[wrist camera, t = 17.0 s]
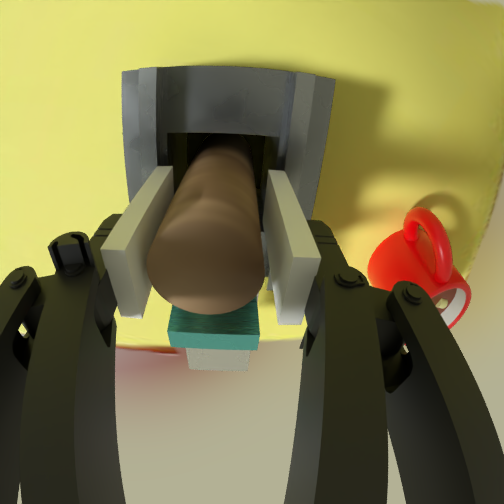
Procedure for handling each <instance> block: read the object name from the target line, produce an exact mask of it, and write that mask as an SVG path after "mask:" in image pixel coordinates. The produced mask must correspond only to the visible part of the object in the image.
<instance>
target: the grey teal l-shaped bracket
mask: <svg viewBox="0 0 504 504" xmlns="http://www.w3.org/2000/svg"><path fill="white" fill-rule="evenodd" d="M258 294H259V293H258ZM258 294H257V295H256V296H255V298H254V299H252V300H251V301H250V302H249V303H248V304H246V305H245V306H243V307H241V308H239V309H237V310H234V311H231V312H227V313H223V314H213V315H209V314H198V313H193V312H189V311H186V310H183V309H181V308H178V307H176V306H174V305H172V310H171V315H170V320H169V325H168V330H167V332H168V336H169V341H170V345H171V347H182V348H186V352H187V358H188V364H189V368H190V369H197V370H218V371H247V370H248V364H249V357H250V350H257V348H258V343H259V337H260V331H259V319H258V307H257V301H258Z"/></svg>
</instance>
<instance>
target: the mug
mask: <svg viewBox="0 0 504 504" xmlns="http://www.w3.org/2000/svg"><path fill="white" fill-rule="evenodd" d="M419 225H421V226H422V227H423V229H424V230H425V231H426V232H425V231H423V230H421V229H418V228H419ZM367 273H368V278H369V280H370V282H371V284H372V286H373V287H376V288H380V289H384V290H388V291H391V290H392V288H393V286H394V285H395V284H396V283H397V282H398V281H403V280H404V281H411V282H414V283H416V284H418V285H419V286H420V287H422V288H423V289H424V290H425V291H426V292H427V294H428V295H429V296H430V298H431V300H432V301H433V303H434V304H435V306H436V308H437V309H438V311H439V313H440V314H441V316H442V318H443V319H444V321H445V323H446V325H447V326H448V328H449V329H450V328H452V327H453V326H454V325H455V324H456V323H457V321H459V320H460V318H461V317H462V315H463V314H464V313H465V311H466V310H467V308H468V306H469V303H470V300H471V289H470V287H469V285H468V284H467V282H466V281H465V280H464V278H463V277H462V276H461V274H460V273H459V272H458V270H457V269H456V268H455V267H454V265H453V258H452V250H451V246H450V242H449V239H448V236H447V233H446V231H445V229H444V227H443V225H442V224H441V222H440V220H439V219H438V218H437V217H436V216H435V215H434V214H433V213H432V212H431V211H430V210H428V209H427V208H424V207H414V208H413V209H411V210H410V211H409V212H408V213H407V215H406V218H405V220H404V226H403V230H400V231H398V232H395V233H394V234H392V235H390V236H389V237H388V238H386V239H385V240H384V241H383V242H382V243H381V244H380V245H379V246H378V247H377V248H376V250H375V251H374V253H373V254H372V256H371V258H370V261H369V264H368V272H367ZM404 345H406V344H404Z"/></svg>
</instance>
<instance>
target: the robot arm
mask: <svg viewBox="0 0 504 504" xmlns="http://www.w3.org/2000/svg"><path fill="white" fill-rule="evenodd" d="M173 197H174V183H173V166H157V167H156V168H155V170H154V171H153V172H152V174H151V175H150V176H149V178H148V179H147V180H146V182H145V183H144V184H143V186H142V187H141V188H140V190H139V191H138V193H137V194H136V195H135V197H134V198H133V200H132V201H131V202H130V204H129V205H128V207H127V208H126V210H125V211H124V213H123V214H112V215H111V216H109V217H108V218H107V219H105V220H104V221H103V222H102V224H101V225H100V226H99V228H98V230H97V231H96V232H95V234H94V236H92V238H91V239H90V241H89V238H88V236H87V235H86V234H85V233H82V232H69V233H65V234H63V235H61V236H59V237H57V238H56V239H54V240H53V241H52V242H51V243H50V245H49V246H48V250H49V252H50V255H51V258H52V261H53V263H54V266H55V268H56V272H55V275H50V276H45V277H40V278H38V277H37V275H36V272H35V270H34V269H33V268H32V267H29V266H23V267H19V268H17V269H15V270H14V271H12V272H11V273H10V274H9V275H8V276H7V277H6V278H5V280H4V281H3V282H2V284H1V285H0V504H17V499H18V491H19V484H20V487H21V498H22V504H126V502H125V497H124V491H123V485H122V478H121V471H120V463H119V454H118V444H117V432H116V416H115V346H116V328H117V326H116V321H115V318H114V316H113V315H114V312H115V310H116V307H117V306H118V309H119V312H120V315H121V317H130V318H140V319H142V318H143V314H144V311H145V307H146V304H147V301H148V297H149V294H150V291H151V287H152V284H151V282H150V280H149V277H148V274H147V268H146V260H147V255H148V252H149V250H150V247H151V245H152V243H153V240H154V238H155V236H156V234H157V231H158V229H159V227H160V225H161V222H162V220H163V218H164V216H165V214H166V212H167V210H168V207H169V205H170V203H171V201H172V199H173ZM263 227H264V234H265V240H266V246H267V253H268V259H269V266H270V272H271V279H272V286H273V292H274V299H275V306H276V313H277V320H278V325H301V323H302V320H303V317H304V314H305V316H306V321H307V325H308V326H307V328H306V331H305V334H304V337H303V339H302V342H301V345H300V349H303V361H302V372H301V382H300V393H299V403H298V411H297V421H296V428H295V437H294V444H293V452H292V458H291V465H290V471H289V478H288V484H287V490H286V495H285V501H284V504H387V488H388V433H387V432H388V431H389V435H390V438H391V442H392V446H393V449H394V453H395V457H396V461H397V465H398V469H399V473H400V477H401V482H402V486H403V491H404V495H405V500H406V504H504V454H503V451H502V447H501V444H500V441H499V438H498V435H497V432H496V429H495V427H494V424H493V421H492V418H491V416H490V413H489V411H488V408H487V406H486V403H485V401H484V399H483V396H482V394H481V392H480V389H479V387H478V385H477V383H476V380H475V378H474V376H473V374H472V372H471V370H470V368H469V366H468V364H467V362H466V360H465V358H464V356H463V354H462V352H461V350H460V348H459V346H458V344H457V343H456V341H455V339H454V337H453V335H452V333H451V332H450V330H449V328H448V326H447V325H446V323H445V321H444V319H443V318H442V316H441V314H440V313H439V311H438V309H437V308H436V306H435V304H434V303H433V301H432V300H431V298H430V296H429V295H428V294H427V292H426V291H425V290H424V289H423V288H422V287H420V286H419V285H418V284H416V283H414V282H411V281H404V280H403V281H398V282H397V283H396V284H395V285H394V286H393V288H392V290H391V291H388V290H384V289H380V288H376V287H372V286H369V283H368V281H367V279H366V277H365V276H364V275H363V274H362V273H361V272H360V271H358V270H357V269H355V268H353V267H350V266H348V264H347V262H346V259H345V257H344V255H343V253H342V251H341V249H340V247H339V245H337V241H336V239H335V238H334V235H333V233H332V231H331V229H330V228H329V227H328V226H327V225H326V224H324V223H323V222H322V221H317V220H306V219H305V216H304V214H303V212H302V209H301V207H300V205H299V202H298V200H297V198H296V195H295V193H294V191H293V188H292V186H291V184H290V182H289V179H288V177H287V175H286V173H285V171H280V170H268V178H267V186H266V195H265V204H264V212H263ZM21 324H23V326H24V327H25V329H26V330H27V333H26V334H25V335H24V336H22V335H21V334H20V332H19V331H18V329H19V327H20V325H21ZM404 344H406V346H407V349H408V351H409V352H408V353H407V352H406V351H405V350H404V348H403V346H404ZM387 428H388V431H387Z"/></svg>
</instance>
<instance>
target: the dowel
mask: <svg viewBox="0 0 504 504" xmlns="http://www.w3.org/2000/svg"><path fill="white" fill-rule="evenodd" d="M146 268H147V274H148V277H149V280H150V282H151V284H152V285H153V287H154V288H155V290H156V291H157V292H158V293H159V294H160V295H161V296H162V297H163V298H164V299H165V300H167V301H168V302H169V303H171V304H173V305H174V306H176V307H178V308H181V309H183V310H186V311H189V312H193V313H198V314H209V315H213V314H223V313H227V312H231V311H234V310H237V309H239V308H241V307H243V306H245V305H246V304H248V303H249V302H250V301H251V300H252V299H254V298H255V296H256V295H257V294H258V293H259V291H260V289H261V287H262V285H263V282H264V278H265V267H264V258H263V249H262V239H261V230H260V221H259V212H258V203H257V195H256V186H255V177H254V169H253V160H252V152H251V148H250V145H249V143H248V142H247V140H246V139H245V138H244V137H243V136H241V135H240V134H231V133H212V134H210V135H209V136H207V137H206V138H205V139H204V141H203V142H202V143H201V145H200V147H199V149H198V151H197V153H196V154H195V156H194V158H193V160H192V162H191V164H190V166H189V168H188V169H187V171H186V173H185V175H184V177H183V179H182V181H181V183H180V185H179V187H178V189H177V191H176V193H175V195H174V197H173V199H172V201H171V203H170V205H169V207H168V210H167V212H166V214H165V216H164V218H163V220H162V222H161V225H160V227H159V229H158V231H157V234H156V236H155V238H154V240H153V243H152V245H151V247H150V250H149V252H148V255H147V260H146Z"/></svg>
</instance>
